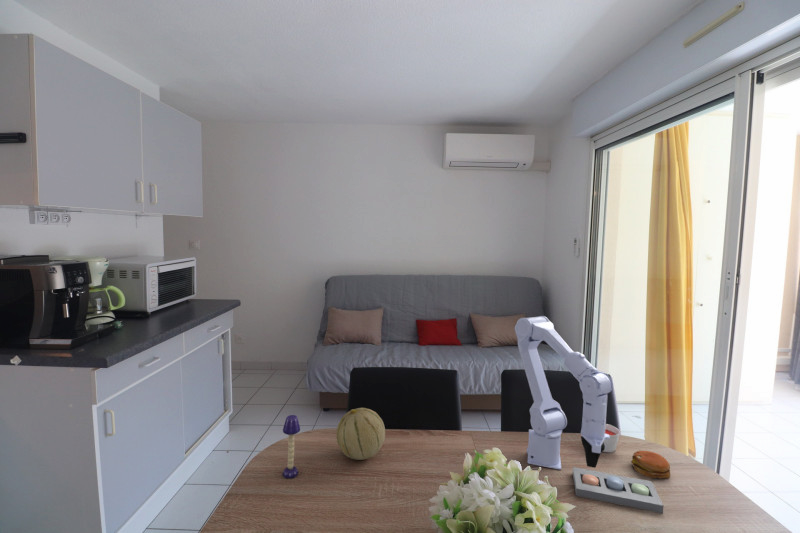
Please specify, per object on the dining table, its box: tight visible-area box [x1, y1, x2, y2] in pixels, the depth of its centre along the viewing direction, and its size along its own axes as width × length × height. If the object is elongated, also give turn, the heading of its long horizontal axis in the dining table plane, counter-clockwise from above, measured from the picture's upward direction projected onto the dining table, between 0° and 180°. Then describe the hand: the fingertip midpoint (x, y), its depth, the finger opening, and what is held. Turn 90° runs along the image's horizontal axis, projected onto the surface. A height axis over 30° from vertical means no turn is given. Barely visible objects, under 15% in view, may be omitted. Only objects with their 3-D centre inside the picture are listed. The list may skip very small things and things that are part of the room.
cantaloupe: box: [335, 407, 386, 461], centre depth 125 cm, size 15×15×15 cm
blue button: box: [606, 476, 624, 491], centre depth 110 cm, size 4×4×2 cm
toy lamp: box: [282, 414, 301, 479], centre depth 114 cm, size 5×5×17 cm
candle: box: [602, 423, 621, 453], centre depth 135 cm, size 9×9×6 cm
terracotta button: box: [581, 474, 599, 486], centre depth 112 cm, size 4×4×2 cm
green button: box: [631, 483, 649, 496], centre depth 108 cm, size 4×4×2 cm
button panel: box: [572, 466, 664, 514], centre depth 110 cm, size 20×11×2 cm, turn 72°
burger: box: [630, 450, 671, 479], centre depth 122 cm, size 10×9×5 cm
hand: (591, 465), depth 112 cm, fingers closed
